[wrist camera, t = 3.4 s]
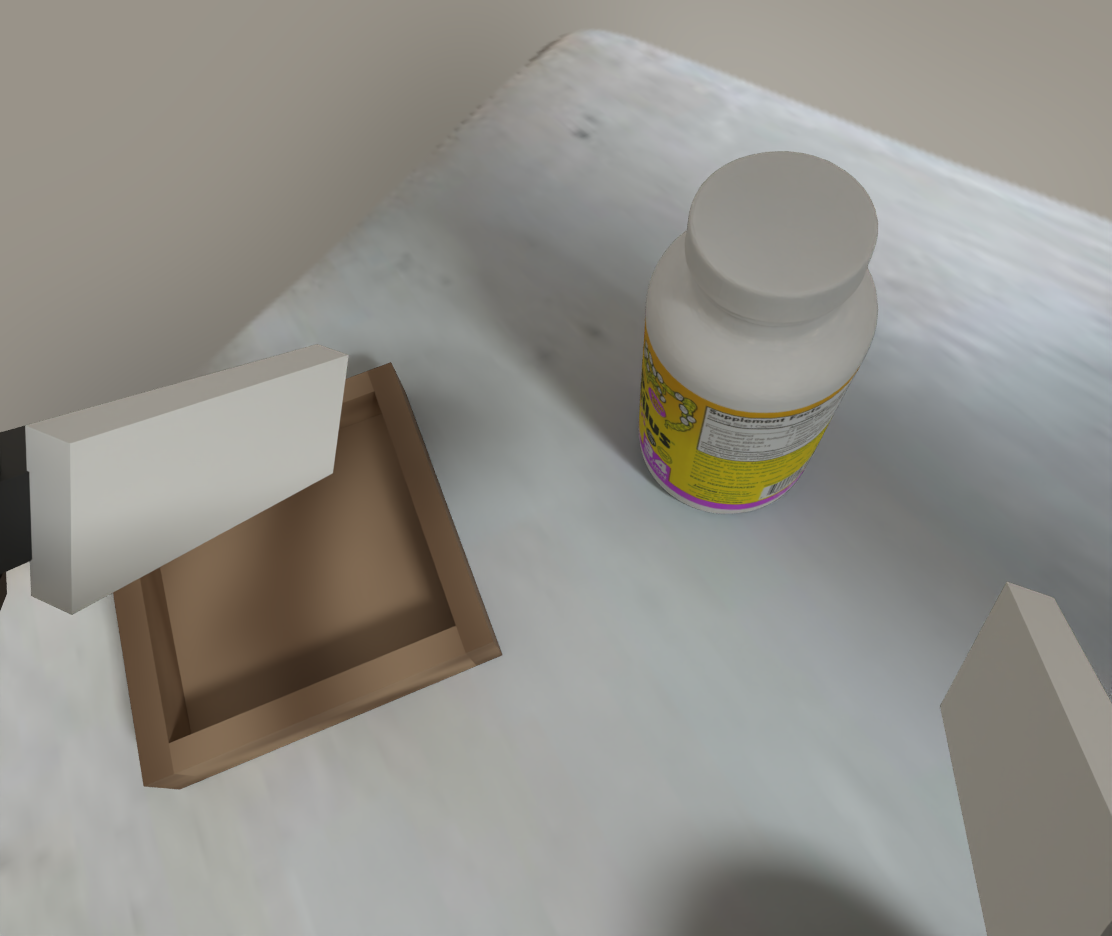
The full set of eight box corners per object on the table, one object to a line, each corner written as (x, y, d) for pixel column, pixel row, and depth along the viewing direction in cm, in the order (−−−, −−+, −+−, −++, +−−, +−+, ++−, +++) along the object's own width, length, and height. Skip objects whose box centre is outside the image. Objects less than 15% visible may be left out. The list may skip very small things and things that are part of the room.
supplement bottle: (643, 366, 33) (658, 115, 21) (804, 375, 32) (911, 121, 21) (631, 514, 30) (641, 320, 19) (808, 528, 30) (933, 335, 18)
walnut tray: (405, 391, 33) (391, 362, 31) (502, 655, 28) (493, 641, 26) (127, 495, 32) (94, 472, 30) (179, 789, 27) (143, 786, 25)
